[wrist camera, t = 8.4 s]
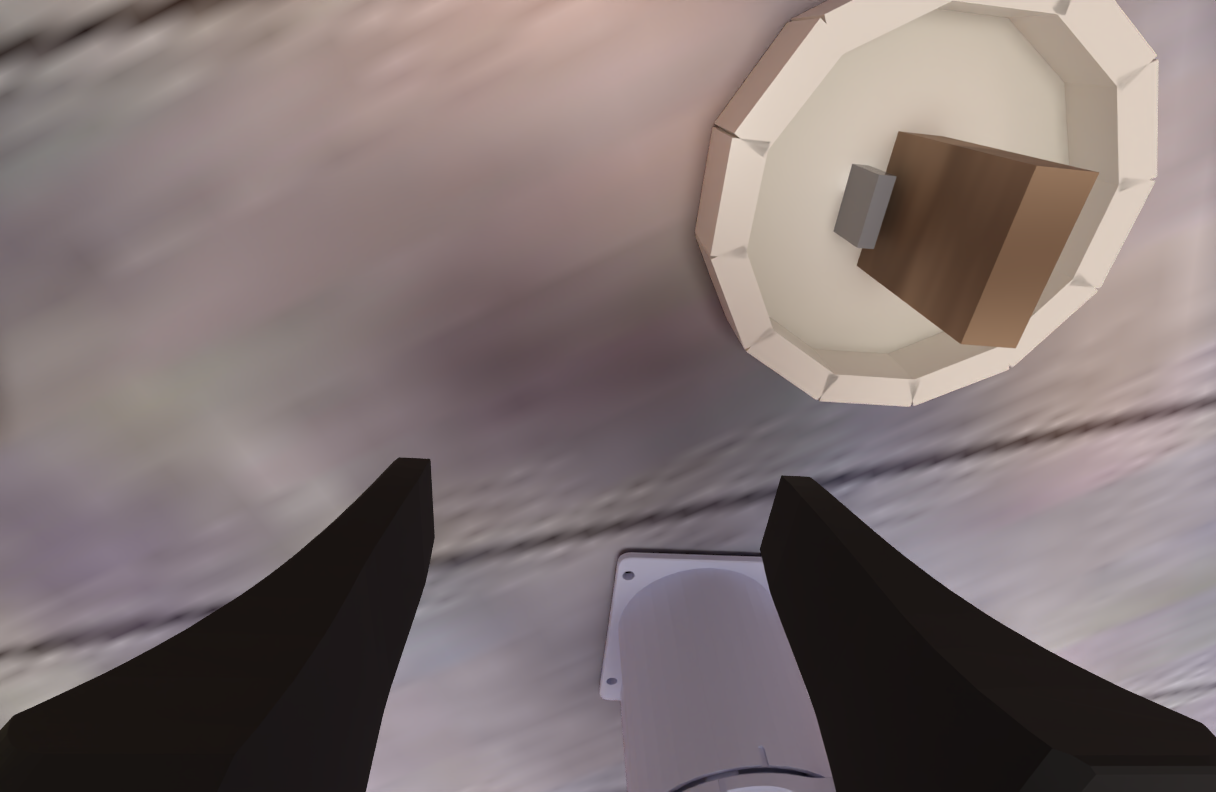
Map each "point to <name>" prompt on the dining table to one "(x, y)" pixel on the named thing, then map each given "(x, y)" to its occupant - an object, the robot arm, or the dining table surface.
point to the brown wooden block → (973, 234)
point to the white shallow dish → (861, 188)
